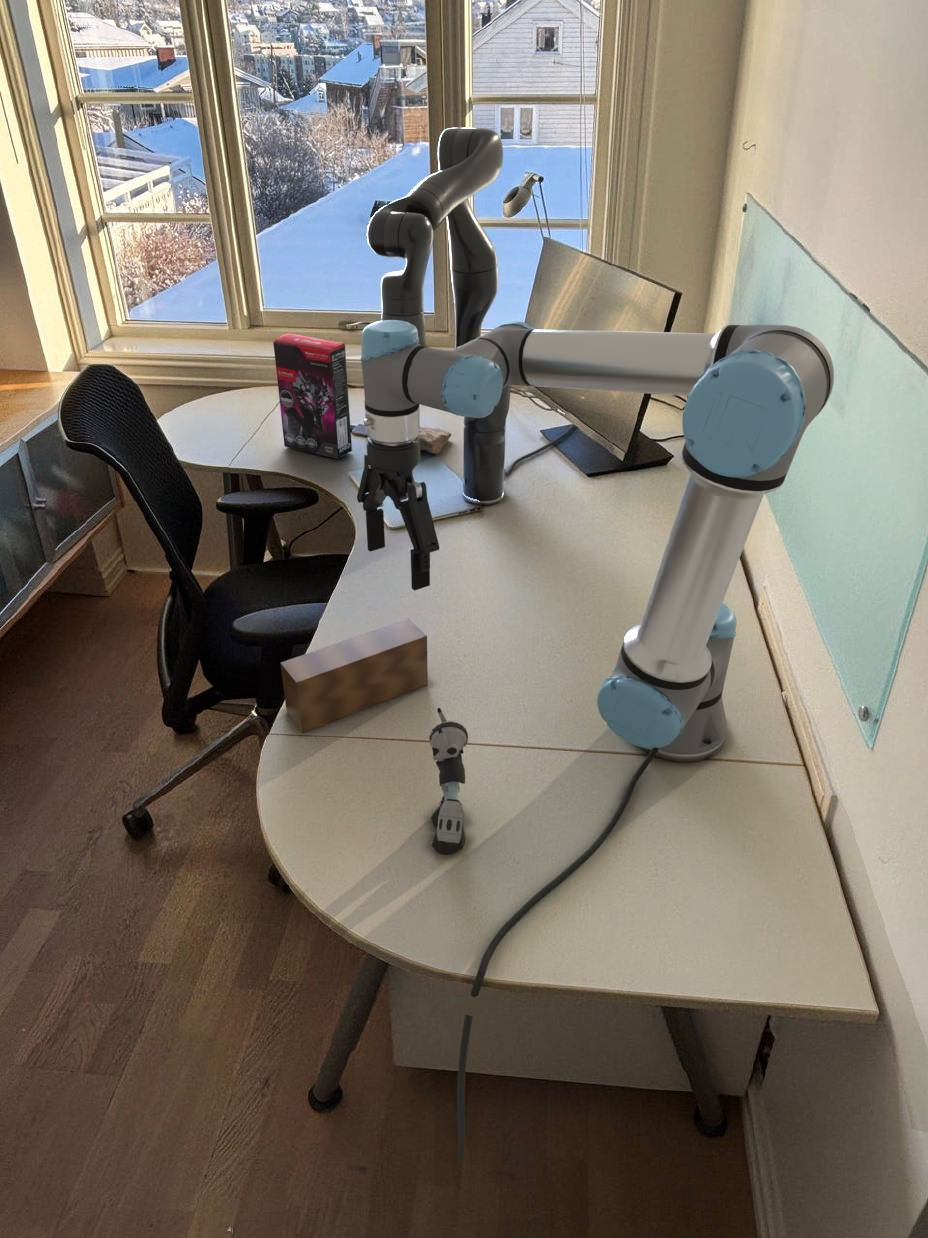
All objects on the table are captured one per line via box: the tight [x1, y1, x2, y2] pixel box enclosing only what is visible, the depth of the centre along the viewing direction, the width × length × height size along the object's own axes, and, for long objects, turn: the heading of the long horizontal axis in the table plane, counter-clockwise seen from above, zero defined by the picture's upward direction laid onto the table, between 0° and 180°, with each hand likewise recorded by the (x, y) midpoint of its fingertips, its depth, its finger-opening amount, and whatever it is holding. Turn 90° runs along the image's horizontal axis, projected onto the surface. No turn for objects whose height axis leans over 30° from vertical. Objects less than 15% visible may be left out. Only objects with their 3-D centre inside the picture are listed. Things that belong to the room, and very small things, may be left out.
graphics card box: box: [272, 332, 353, 460], centre depth 223 cm, size 17×7×27 cm, turn 62°
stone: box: [418, 425, 452, 455], centre depth 233 cm, size 21×15×6 cm
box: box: [279, 618, 429, 734], centre depth 146 cm, size 23×6×10 cm, turn 123°
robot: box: [428, 707, 469, 855], centre depth 120 cm, size 20×5×20 cm, turn 3°
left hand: (406, 426), depth 167 cm, fingers open, 8 cm apart
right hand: (397, 567), depth 141 cm, fingers open, 13 cm apart
